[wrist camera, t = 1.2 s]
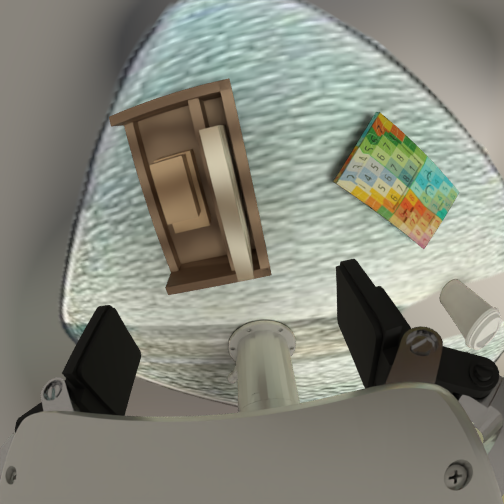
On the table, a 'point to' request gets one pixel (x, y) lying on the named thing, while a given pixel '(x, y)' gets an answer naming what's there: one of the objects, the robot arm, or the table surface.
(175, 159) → the tan wooden block
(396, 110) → the table surface
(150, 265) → the table surface
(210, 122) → the walnut rack
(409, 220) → the puzzle game
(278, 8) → the table surface
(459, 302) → the coffee cup
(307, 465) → the robot arm
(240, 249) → the birch sheet
